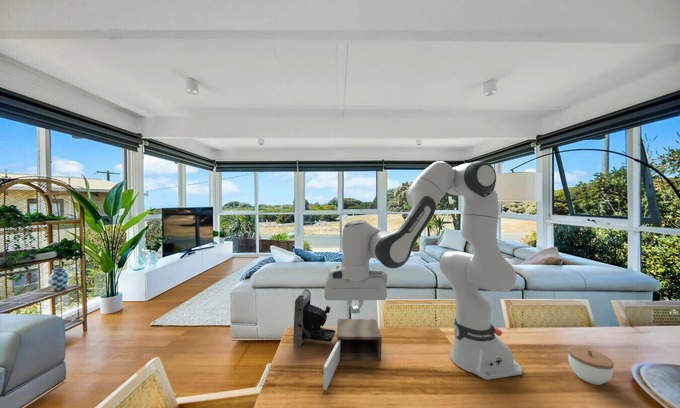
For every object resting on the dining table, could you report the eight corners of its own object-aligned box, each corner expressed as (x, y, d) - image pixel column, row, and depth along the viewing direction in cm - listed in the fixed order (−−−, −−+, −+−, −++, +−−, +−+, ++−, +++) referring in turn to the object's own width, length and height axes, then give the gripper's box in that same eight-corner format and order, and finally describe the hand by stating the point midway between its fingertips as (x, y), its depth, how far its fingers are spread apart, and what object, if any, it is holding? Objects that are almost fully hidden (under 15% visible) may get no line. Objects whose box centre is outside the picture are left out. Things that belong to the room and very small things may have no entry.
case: (375, 339, 103) (376, 319, 102) (381, 360, 90) (381, 336, 89) (337, 339, 102) (337, 318, 102) (337, 359, 89) (337, 336, 89)
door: (326, 390, 75) (327, 366, 74) (320, 389, 75) (320, 365, 75) (340, 360, 89) (340, 339, 89) (335, 359, 89) (335, 338, 89)
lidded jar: (558, 366, 88) (559, 340, 88) (589, 367, 87) (590, 341, 87) (588, 390, 77) (589, 360, 77) (623, 391, 77) (624, 361, 77)
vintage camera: (330, 353, 94) (333, 301, 94) (291, 346, 97) (294, 295, 97) (335, 339, 103) (338, 292, 103) (300, 333, 106) (303, 287, 106)
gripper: (385, 267, 83) (385, 307, 84) (324, 267, 83) (324, 308, 84) (389, 273, 77) (389, 317, 78) (324, 273, 77) (324, 317, 77)
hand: (355, 312), depth 81 cm, fingers closed
